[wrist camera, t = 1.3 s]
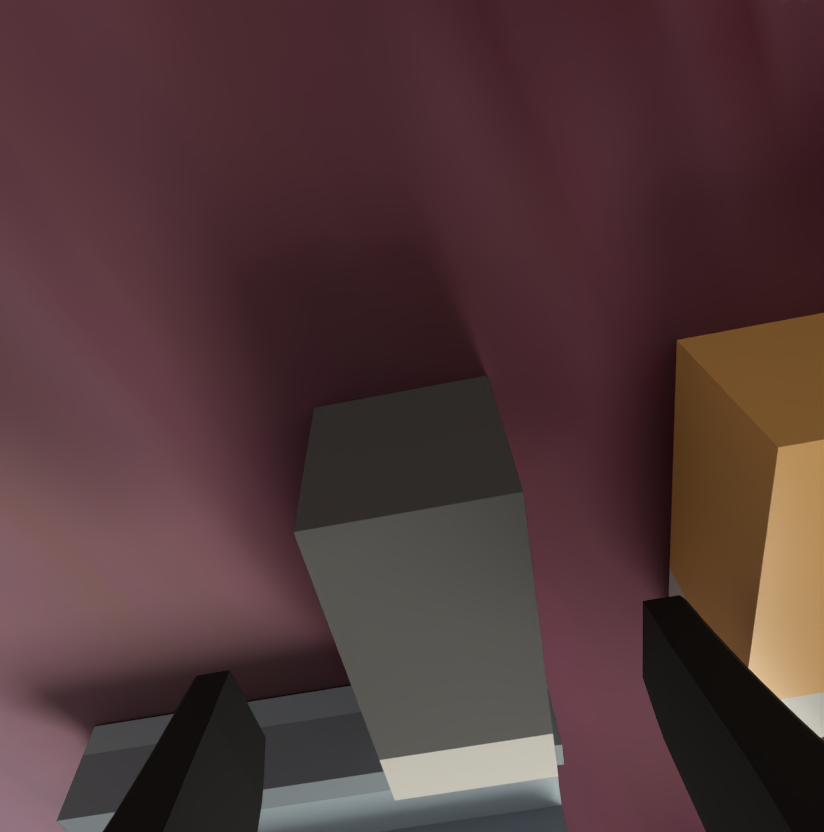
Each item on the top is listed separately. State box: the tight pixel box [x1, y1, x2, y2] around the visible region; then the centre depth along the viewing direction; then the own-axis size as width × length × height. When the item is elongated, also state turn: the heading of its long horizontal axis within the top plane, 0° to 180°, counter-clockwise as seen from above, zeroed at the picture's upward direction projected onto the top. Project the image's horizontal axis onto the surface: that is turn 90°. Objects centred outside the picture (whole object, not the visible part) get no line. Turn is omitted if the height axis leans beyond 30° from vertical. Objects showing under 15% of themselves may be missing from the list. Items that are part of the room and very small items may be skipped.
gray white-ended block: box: [294, 375, 558, 800], centre depth 13 cm, size 8×3×4 cm, turn 11°
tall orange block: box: [669, 313, 824, 737], centre depth 12 cm, size 8×3×4 cm, turn 11°
